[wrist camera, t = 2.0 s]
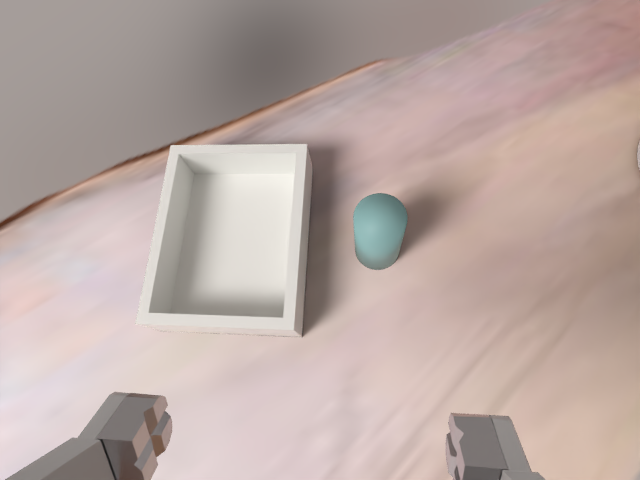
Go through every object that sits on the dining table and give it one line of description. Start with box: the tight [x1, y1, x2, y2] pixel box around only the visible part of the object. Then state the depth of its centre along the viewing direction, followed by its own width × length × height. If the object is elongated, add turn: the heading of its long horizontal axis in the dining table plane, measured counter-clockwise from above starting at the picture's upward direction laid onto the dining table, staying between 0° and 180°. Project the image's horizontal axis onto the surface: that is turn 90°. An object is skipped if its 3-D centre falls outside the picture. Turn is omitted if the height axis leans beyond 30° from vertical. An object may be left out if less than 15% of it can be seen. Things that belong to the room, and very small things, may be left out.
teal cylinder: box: [353, 193, 407, 270], centre depth 38 cm, size 4×4×8 cm
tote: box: [135, 144, 313, 337], centre depth 41 cm, size 14×18×5 cm
